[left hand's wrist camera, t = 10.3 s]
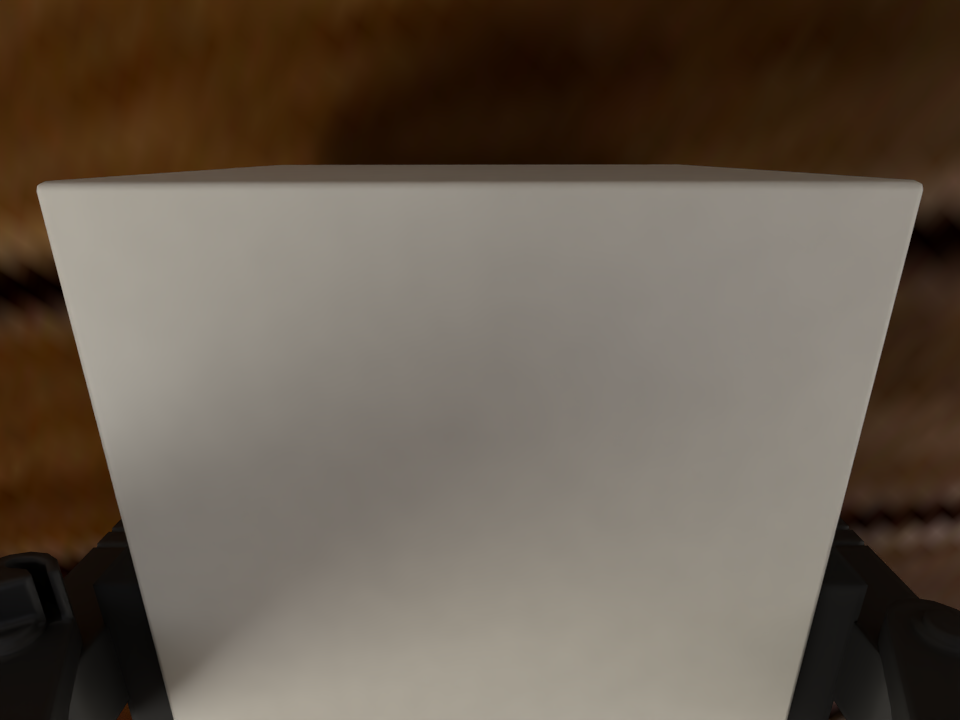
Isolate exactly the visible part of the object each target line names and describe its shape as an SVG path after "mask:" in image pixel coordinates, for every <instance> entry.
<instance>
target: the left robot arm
mask: <svg viewBox="0 0 960 720" xmlns="http://www.w3.org/2000/svg"><path fill="white" fill-rule="evenodd" d="M112 529H113V530H112V532H108V533H107V534H106V535H105V536H104V537H103V538H102V539H101V540H100V542H99V543H98V545H97V548H93V549H92V550H91V551H90V552H89V553H88V554H87V555H86V556H85V557H84V558H83V559H82V560H81V561H80V562H79V563H78V564H77V565H76V566H75V567H74V568H73V569H72V570H71V571H70V573H69V574H68V575H67V576H66V577H65V578H64V579H63V577H62V573H61V570H60V567H59V564H58V561H57V559H55V558H54V557H52V556H51V555H49V554H48V553H38V552H26V553H20V554H13V555H8V556H5V557H2V558H0V720H116V719H117V718H118V716H119V715H120V713H121V711H122V710H123V708H124V707H125V705H126V704H127V702H128V706H129V709H130V712H131V716H132V719H133V720H174V719H173V715H172V711H171V707H170V703H169V699H168V695H167V692H166V688H165V684H164V680H163V676H162V672H161V668H160V665H159V661H158V657H157V653H156V649H155V645H154V641H153V638H152V634H151V630H150V626H149V622H148V618H147V615H146V611H145V607H144V603H143V599H142V595H141V591H140V588H139V584H138V580H137V576H136V572H135V568H134V564H133V561H132V557H131V553H130V549H129V545H128V541H127V537H126V534H125V530H124V526H123V522H122V519H121V520H120V521H119V522H118V523H117V524H116V525H115V526H114V527H113V528H112ZM833 701H835V703H836V704H837V706H838V707H839V709H840V711H841V712H842V714H843V715H844V717H845V718H846V720H960V611H959V610H957V609H954V608H952V607H949V606H946V605H943V604H941V603H938V602H935V601H930V600H924V599H919V598H918V597H917V596H916V595H915V594H914V593H913V592H912V591H911V590H910V589H909V588H908V586H907V585H906V584H905V583H904V582H903V581H902V580H901V579H900V578H899V577H898V576H897V575H896V574H895V573H894V572H893V571H892V570H891V569H890V568H889V567H888V566H887V565H886V564H885V563H884V562H883V561H882V560H881V559H880V558H879V557H878V556H877V555H876V554H875V553H874V552H873V551H872V550H871V549H870V548H869V547H868V546H865V545H864V541H863V540H862V539H861V538H860V537H859V536H858V535H857V534H856V533H855V532H854V531H853V530H849V526H848V525H847V524H846V523H845V522H844V521H843V520H842V519H841V518H840V517H839V520H838V524H837V527H836V531H835V535H834V539H833V543H832V547H831V551H830V555H829V559H828V563H827V566H826V570H825V574H824V578H823V582H822V586H821V590H820V594H819V598H818V601H817V605H816V609H815V613H814V617H813V621H812V625H811V629H810V633H809V637H808V640H807V644H806V648H805V652H804V656H803V660H802V664H801V668H800V672H799V676H798V679H797V683H796V687H795V691H794V695H793V699H792V703H791V707H790V711H789V715H788V718H787V720H828V718H829V715H830V712H831V708H832V705H833Z"/></svg>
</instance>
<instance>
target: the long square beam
mask: <svg viewBox="0 0 960 720" xmlns="http://www.w3.org/2000/svg"><path fill="white" fill-rule="evenodd" d="M922 192H923V185H922V184H921V183H919V182H917V181H915V180H906V179H891V178H876V177H860V176H845V175H830V174H815V173H800V172H785V171H769V170H754V169H739V168H724V167H709V166H694V165H679V164H648V165H275V166H260V167H246V168H231V169H217V170H202V171H188V172H173V173H158V174H144V175H129V176H115V177H100V178H85V179H71V180H56V181H45V182H43V183H41V184H39V185H38V186H37V194H38V198H39V202H40V206H41V210H42V214H43V217H44V221H45V225H46V229H47V233H48V237H49V241H50V244H51V248H52V252H53V256H54V260H55V264H56V268H57V271H58V275H59V279H60V283H61V287H62V291H63V295H64V298H65V302H66V306H67V310H68V314H69V318H70V322H71V325H72V329H73V333H74V337H75V341H76V345H77V349H78V352H79V356H80V360H81V364H82V368H83V372H84V376H85V379H86V383H87V387H88V391H89V395H90V399H91V403H92V406H93V410H94V414H95V418H96V422H97V426H98V429H99V433H100V437H101V441H102V445H103V449H104V453H105V456H106V460H107V464H108V468H109V472H110V476H111V480H112V483H113V487H114V491H115V495H116V499H117V503H118V507H119V510H120V514H121V518H122V522H123V526H124V530H125V534H126V537H127V541H128V545H129V549H130V553H131V557H132V561H133V564H134V568H135V572H136V576H137V580H138V584H139V588H140V591H141V595H142V599H143V603H144V607H145V611H146V615H147V618H148V622H149V626H150V630H151V634H152V638H153V641H154V645H155V649H156V653H157V657H158V661H159V665H160V668H161V672H162V676H163V680H164V684H165V688H166V692H167V695H168V699H169V703H170V707H171V711H172V715H173V719H174V720H787V718H788V715H789V711H790V707H791V703H792V699H793V695H794V691H795V687H796V683H797V679H798V676H799V672H800V668H801V664H802V660H803V656H804V652H805V648H806V644H807V640H808V637H809V633H810V629H811V625H812V621H813V617H814V613H815V609H816V605H817V601H818V598H819V594H820V590H821V586H822V582H823V578H824V574H825V570H826V566H827V563H828V559H829V555H830V551H831V547H832V543H833V539H834V535H835V531H836V527H837V524H838V520H839V516H840V512H841V508H842V504H843V500H844V496H845V492H846V488H847V485H848V481H849V477H850V473H851V469H852V465H853V461H854V457H855V453H856V449H857V446H858V442H859V438H860V434H861V430H862V426H863V422H864V418H865V414H866V410H867V407H868V403H869V399H870V395H871V391H872V387H873V383H874V379H875V375H876V372H877V368H878V364H879V360H880V356H881V352H882V348H883V344H884V340H885V336H886V333H887V329H888V325H889V321H890V317H891V313H892V309H893V305H894V301H895V297H896V294H897V290H898V286H899V282H900V278H901V274H902V270H903V266H904V262H905V258H906V255H907V251H908V247H909V243H910V239H911V235H912V231H913V227H914V223H915V220H916V216H917V212H918V208H919V204H920V200H921V196H922Z"/></svg>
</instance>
